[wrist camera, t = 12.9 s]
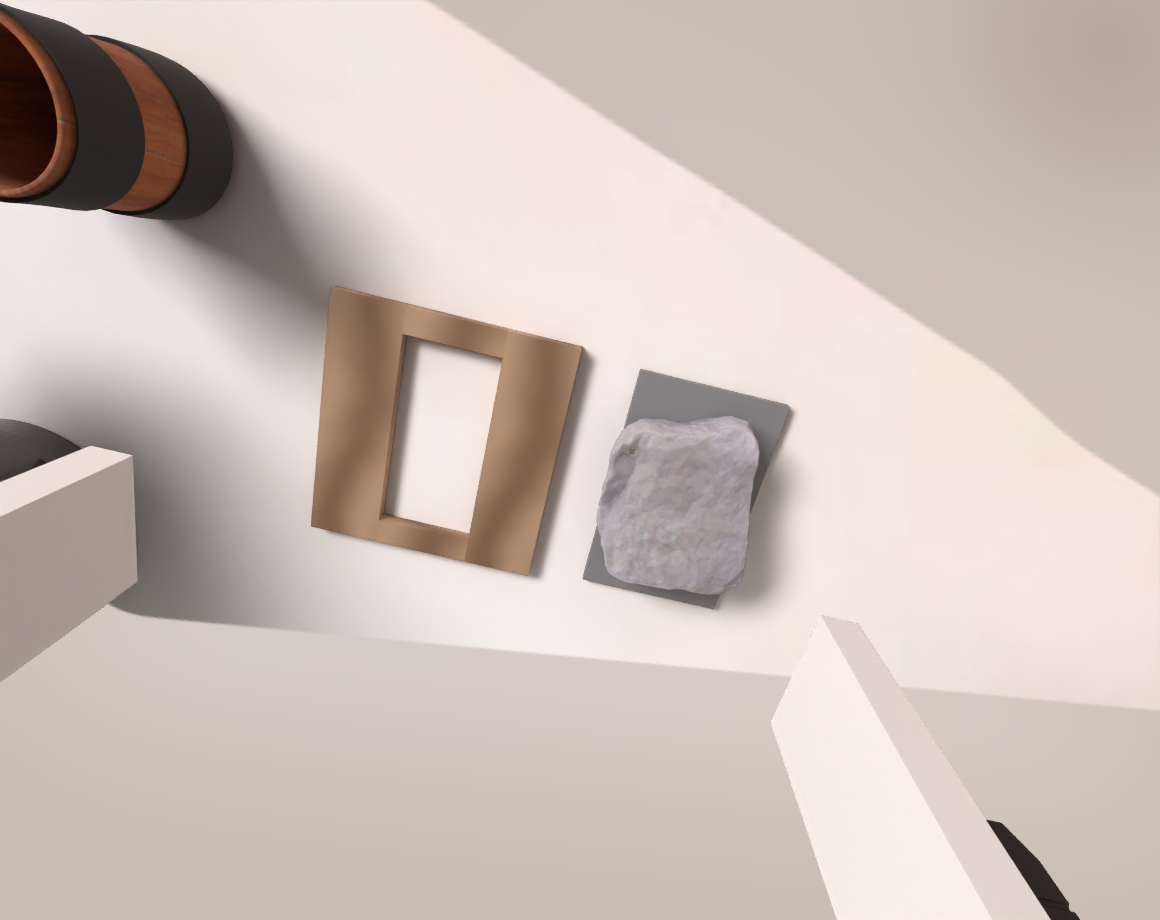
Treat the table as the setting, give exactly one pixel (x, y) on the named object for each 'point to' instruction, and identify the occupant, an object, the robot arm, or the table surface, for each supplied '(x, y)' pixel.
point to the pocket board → (368, 415)
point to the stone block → (679, 503)
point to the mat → (688, 404)
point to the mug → (104, 125)
